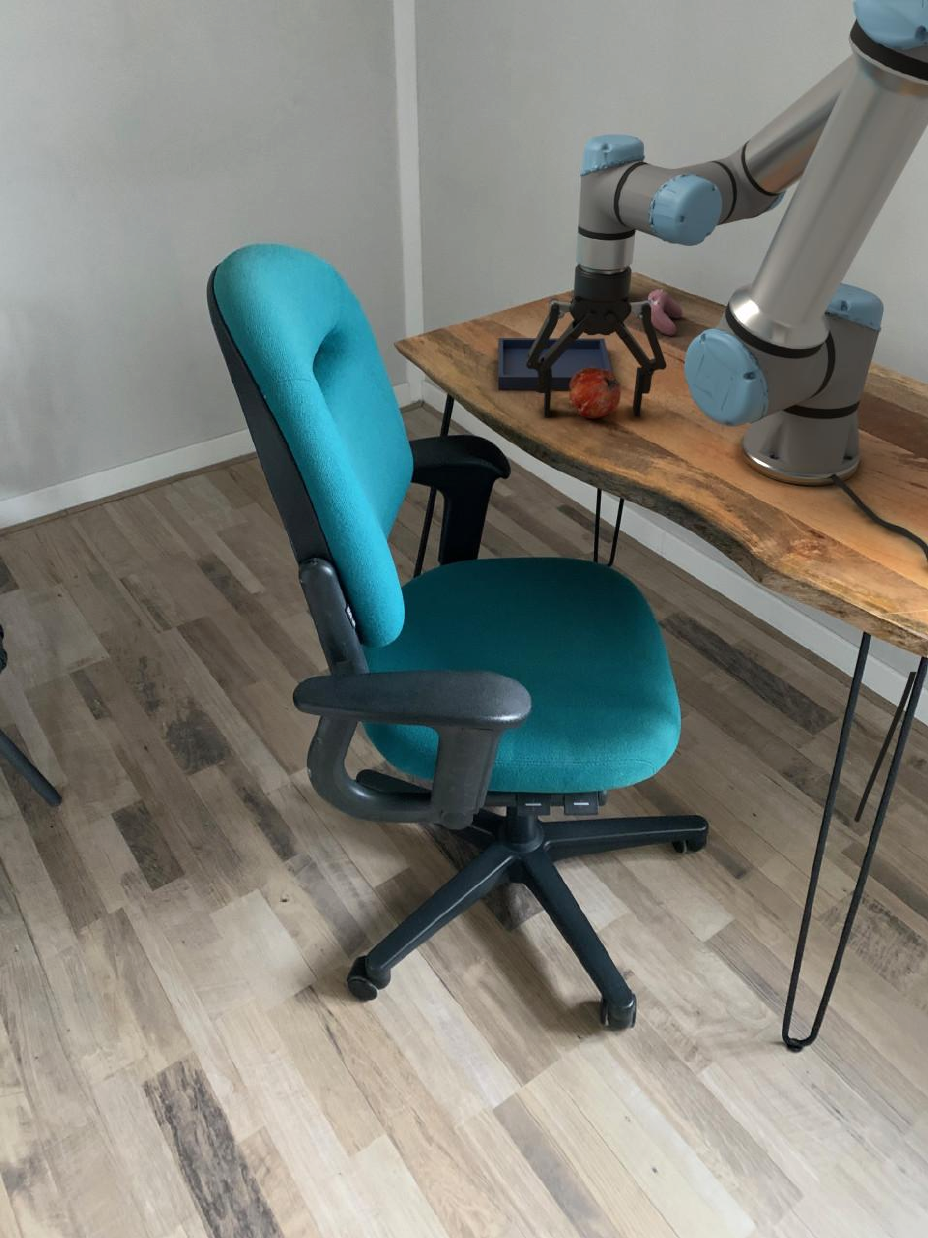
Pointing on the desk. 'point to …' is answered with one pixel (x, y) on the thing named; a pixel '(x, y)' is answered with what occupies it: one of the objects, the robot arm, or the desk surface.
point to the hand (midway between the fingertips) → (591, 412)
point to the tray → (563, 370)
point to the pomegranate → (594, 392)
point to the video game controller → (663, 311)
